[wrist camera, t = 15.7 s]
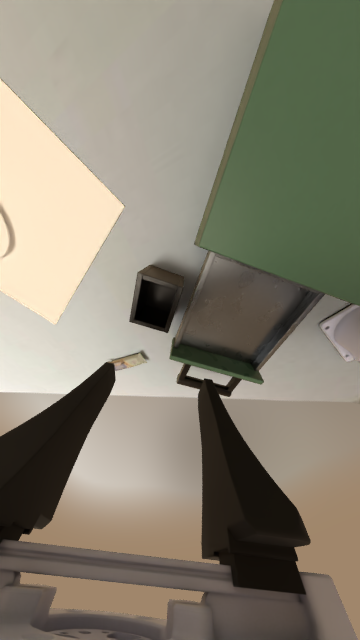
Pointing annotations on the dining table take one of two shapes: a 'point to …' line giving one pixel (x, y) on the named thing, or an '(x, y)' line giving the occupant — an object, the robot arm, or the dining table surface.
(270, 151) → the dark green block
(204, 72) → the dining table surface
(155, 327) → the black tin
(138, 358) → the granola bar
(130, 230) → the dining table surface
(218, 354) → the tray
